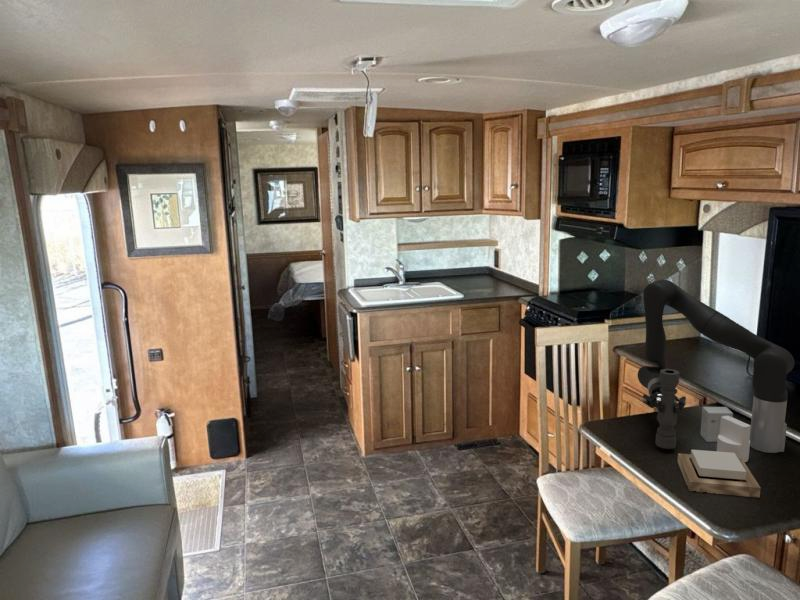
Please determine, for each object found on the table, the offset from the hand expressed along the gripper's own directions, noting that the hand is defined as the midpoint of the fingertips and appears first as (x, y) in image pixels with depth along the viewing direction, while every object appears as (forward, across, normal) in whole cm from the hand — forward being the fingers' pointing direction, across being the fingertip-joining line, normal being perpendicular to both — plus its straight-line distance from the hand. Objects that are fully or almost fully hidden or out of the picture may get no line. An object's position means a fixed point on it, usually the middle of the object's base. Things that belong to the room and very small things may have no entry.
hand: (669, 410), depth 193 cm
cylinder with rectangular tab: (-2, +20, +15) cm, 25 cm away
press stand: (+15, +11, +15) cm, 24 cm away
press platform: (+15, +11, +11) cm, 22 cm away
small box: (-15, +18, +15) cm, 28 cm away
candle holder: (-3, 0, +13) cm, 13 cm away
